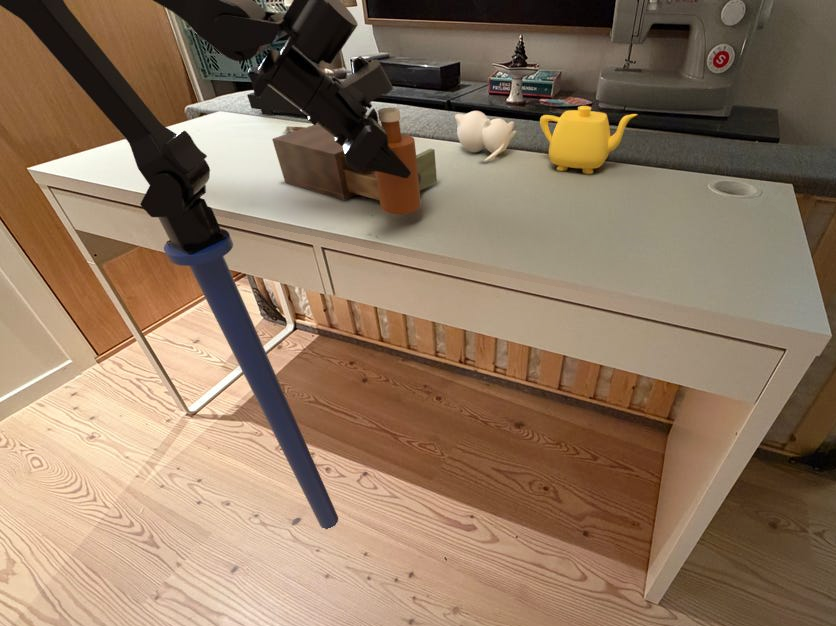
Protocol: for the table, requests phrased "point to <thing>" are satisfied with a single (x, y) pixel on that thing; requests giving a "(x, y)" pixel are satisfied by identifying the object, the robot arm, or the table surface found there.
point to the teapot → (581, 138)
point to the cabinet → (312, 161)
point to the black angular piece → (272, 103)
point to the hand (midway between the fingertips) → (405, 167)
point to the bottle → (393, 189)
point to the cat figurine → (483, 133)
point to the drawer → (368, 183)
